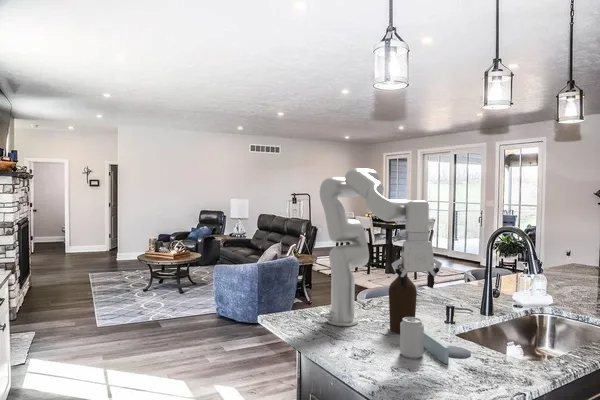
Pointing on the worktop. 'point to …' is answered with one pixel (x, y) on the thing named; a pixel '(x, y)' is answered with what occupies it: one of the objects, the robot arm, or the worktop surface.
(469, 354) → the coaster
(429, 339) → the acrylic wall
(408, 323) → the can
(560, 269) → the worktop surface
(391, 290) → the olive oil
